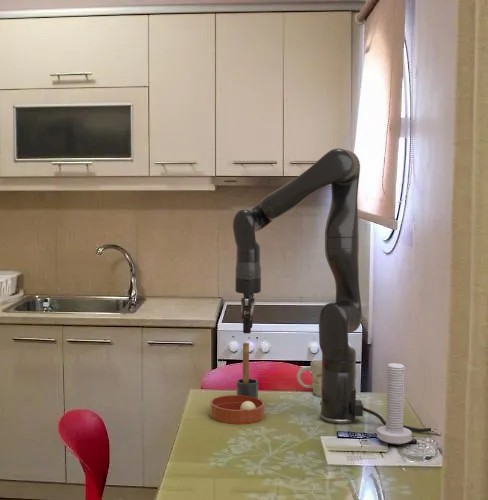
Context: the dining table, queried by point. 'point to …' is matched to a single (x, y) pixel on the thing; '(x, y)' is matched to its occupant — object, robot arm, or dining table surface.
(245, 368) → the stick
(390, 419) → the screw
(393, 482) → the dining table surface
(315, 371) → the mug
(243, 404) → the dough ball
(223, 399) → the bowl
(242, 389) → the tube
